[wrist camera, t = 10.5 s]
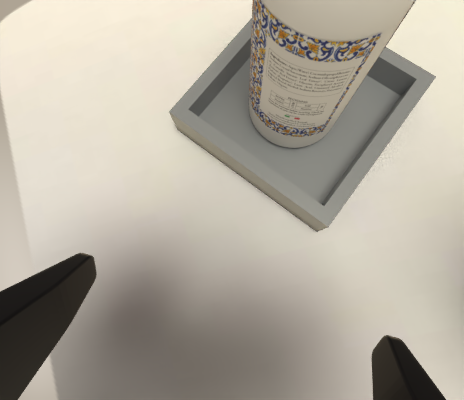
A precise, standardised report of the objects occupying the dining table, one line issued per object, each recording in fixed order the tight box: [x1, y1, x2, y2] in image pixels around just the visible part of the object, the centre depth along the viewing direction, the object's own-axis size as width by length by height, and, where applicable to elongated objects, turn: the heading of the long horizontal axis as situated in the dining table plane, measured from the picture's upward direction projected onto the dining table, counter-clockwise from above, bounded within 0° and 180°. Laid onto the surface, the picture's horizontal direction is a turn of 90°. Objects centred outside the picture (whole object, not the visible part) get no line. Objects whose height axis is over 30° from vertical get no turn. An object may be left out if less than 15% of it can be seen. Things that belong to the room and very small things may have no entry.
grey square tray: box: [169, 18, 436, 232], centre depth 23 cm, size 14×14×3 cm
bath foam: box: [249, 0, 416, 148], centre depth 14 cm, size 7×7×20 cm
